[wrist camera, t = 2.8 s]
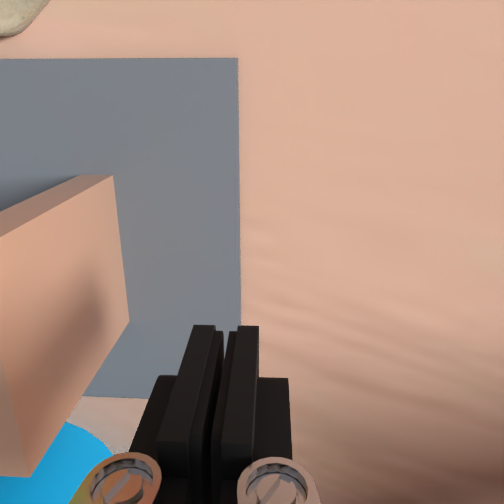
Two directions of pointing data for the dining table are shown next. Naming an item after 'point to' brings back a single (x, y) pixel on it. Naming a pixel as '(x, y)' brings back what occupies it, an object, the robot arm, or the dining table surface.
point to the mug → (57, 469)
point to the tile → (55, 310)
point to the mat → (140, 188)
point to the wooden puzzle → (18, 15)
